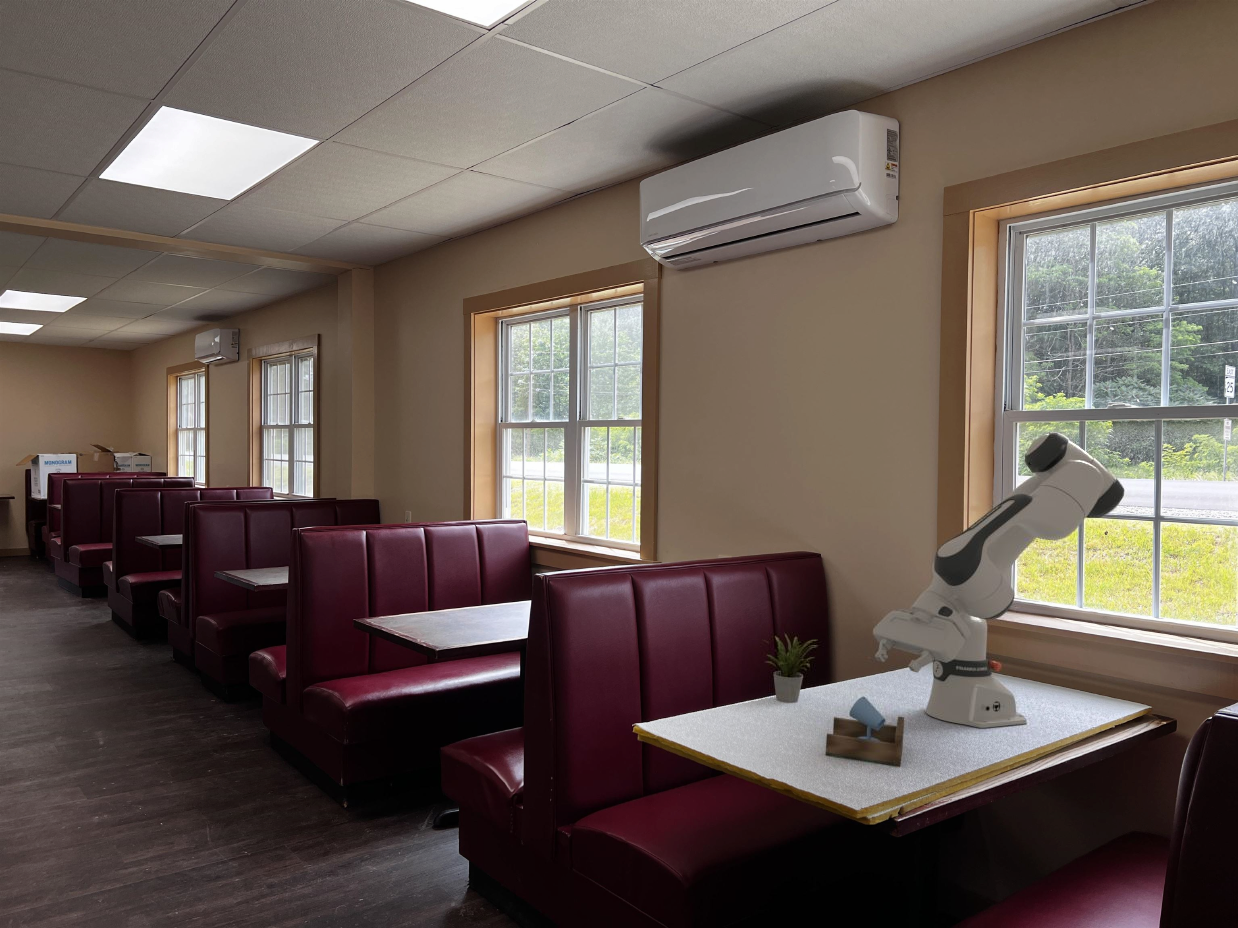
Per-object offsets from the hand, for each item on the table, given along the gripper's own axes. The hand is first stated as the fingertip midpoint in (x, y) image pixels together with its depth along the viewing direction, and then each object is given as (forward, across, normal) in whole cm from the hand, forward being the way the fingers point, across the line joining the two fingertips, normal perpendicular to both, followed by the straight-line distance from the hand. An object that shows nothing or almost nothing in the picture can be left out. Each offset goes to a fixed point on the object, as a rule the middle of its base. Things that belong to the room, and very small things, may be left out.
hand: (895, 664), depth 180 cm
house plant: (+11, -35, +14) cm, 39 cm away
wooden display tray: (+17, +1, +6) cm, 19 cm away
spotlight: (+17, +1, +6) cm, 18 cm away
